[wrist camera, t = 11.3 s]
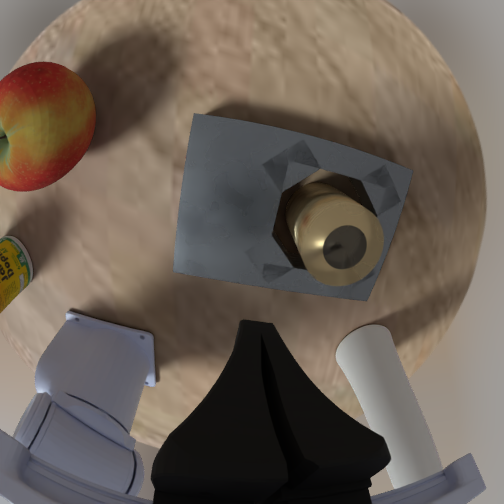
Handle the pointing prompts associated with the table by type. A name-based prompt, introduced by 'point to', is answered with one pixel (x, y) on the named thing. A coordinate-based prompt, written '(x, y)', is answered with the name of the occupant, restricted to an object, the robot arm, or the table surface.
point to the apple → (43, 125)
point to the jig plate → (269, 202)
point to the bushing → (333, 234)
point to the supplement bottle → (13, 269)
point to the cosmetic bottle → (389, 403)
